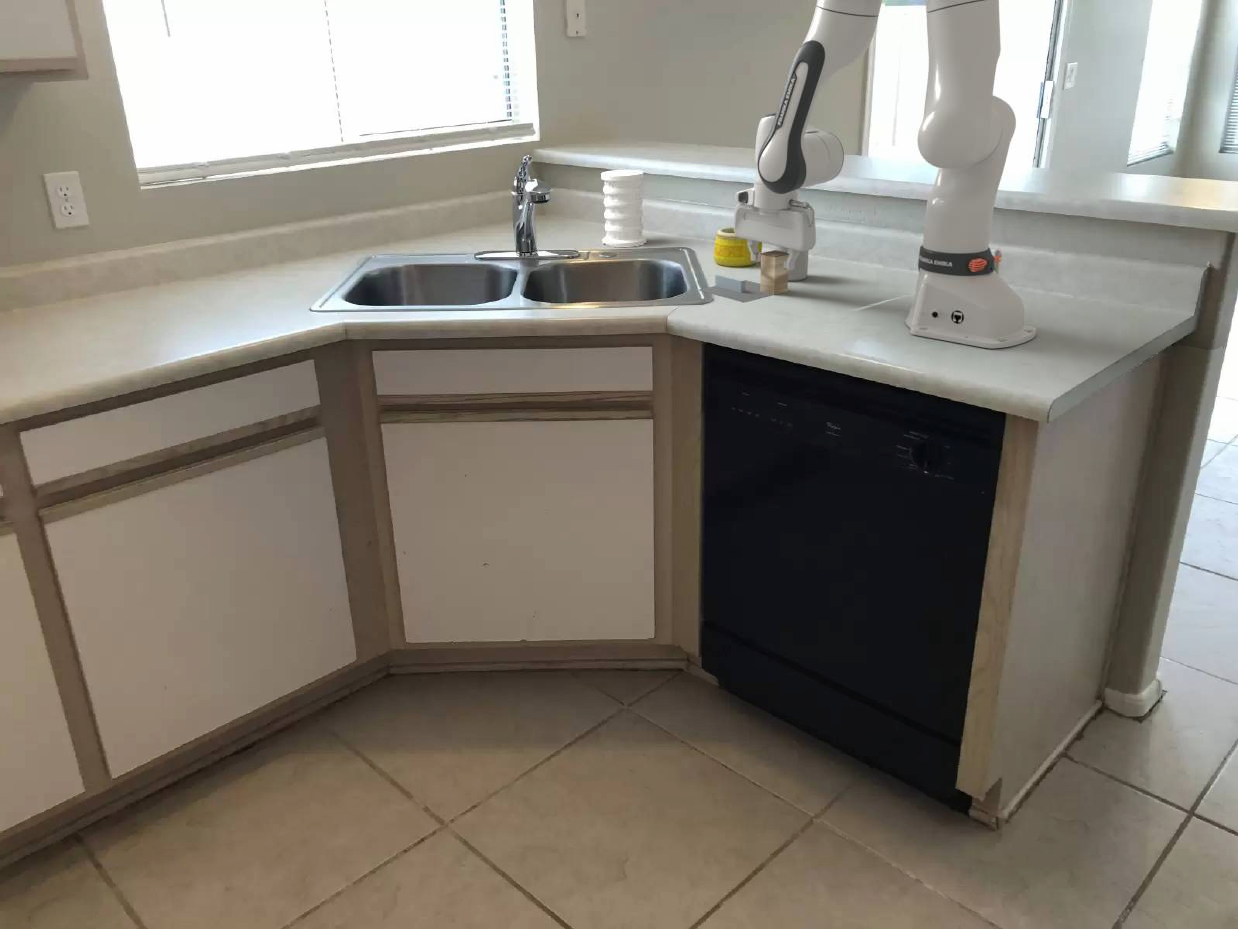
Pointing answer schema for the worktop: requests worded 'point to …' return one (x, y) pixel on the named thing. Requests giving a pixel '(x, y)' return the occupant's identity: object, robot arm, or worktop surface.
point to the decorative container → (623, 207)
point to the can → (797, 265)
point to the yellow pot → (732, 249)
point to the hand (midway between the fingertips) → (772, 265)
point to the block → (773, 272)
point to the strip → (730, 283)
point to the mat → (750, 292)
